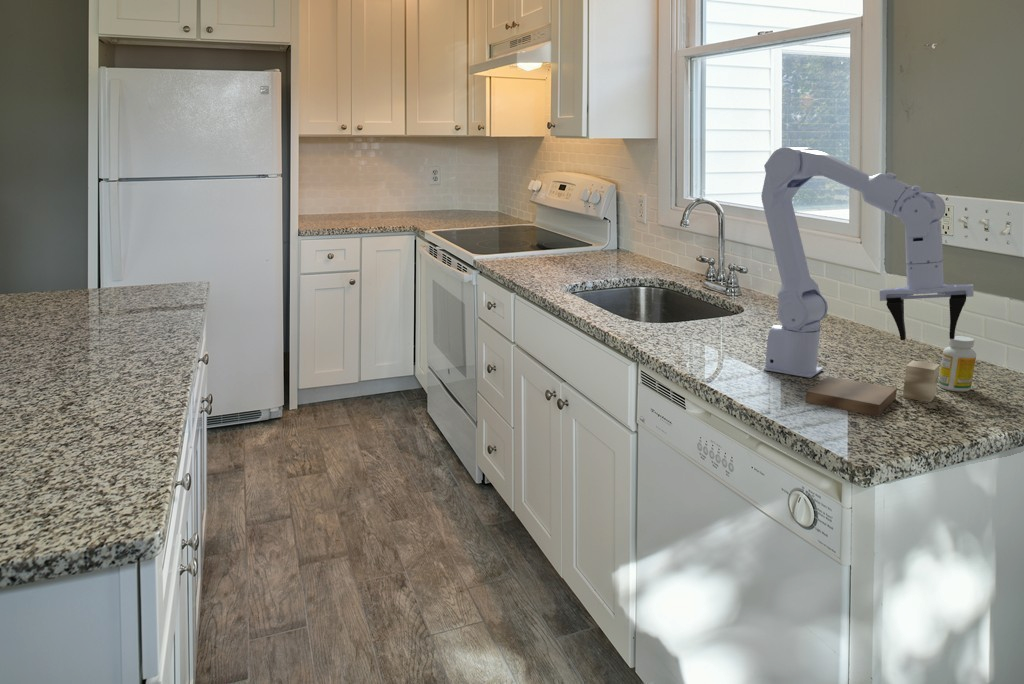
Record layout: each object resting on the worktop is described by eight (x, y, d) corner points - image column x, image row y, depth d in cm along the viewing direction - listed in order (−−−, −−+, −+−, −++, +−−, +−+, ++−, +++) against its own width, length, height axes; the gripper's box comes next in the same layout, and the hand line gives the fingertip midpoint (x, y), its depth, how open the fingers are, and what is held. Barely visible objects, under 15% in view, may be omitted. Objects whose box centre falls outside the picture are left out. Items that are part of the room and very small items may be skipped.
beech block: (902, 397, 140) (906, 365, 139) (908, 391, 144) (912, 360, 142) (930, 402, 138) (934, 369, 136) (935, 396, 141) (939, 364, 139)
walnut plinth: (805, 402, 137) (806, 391, 137) (826, 386, 147) (827, 376, 146) (877, 416, 130) (879, 404, 130) (895, 398, 139) (897, 388, 139)
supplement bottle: (934, 388, 146) (941, 338, 143) (942, 382, 149) (949, 333, 147) (966, 394, 142) (974, 343, 140) (974, 387, 146) (981, 338, 144)
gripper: (876, 267, 137) (879, 343, 139) (972, 260, 129) (974, 341, 131) (880, 264, 143) (884, 337, 145) (972, 257, 135) (974, 334, 137)
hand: (927, 338), depth 138 cm, fingers open, 7 cm apart
